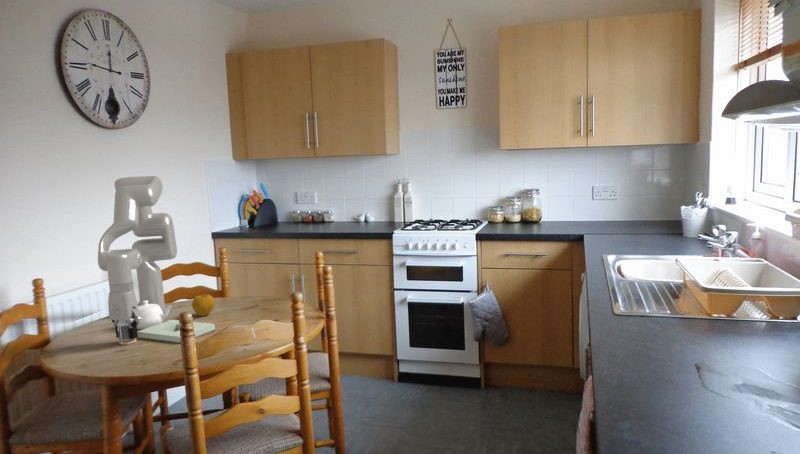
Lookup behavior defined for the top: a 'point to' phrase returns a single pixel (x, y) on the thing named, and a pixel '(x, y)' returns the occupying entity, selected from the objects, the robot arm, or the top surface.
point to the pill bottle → (124, 333)
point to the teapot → (151, 315)
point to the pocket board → (173, 331)
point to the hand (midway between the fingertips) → (127, 337)
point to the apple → (203, 304)
